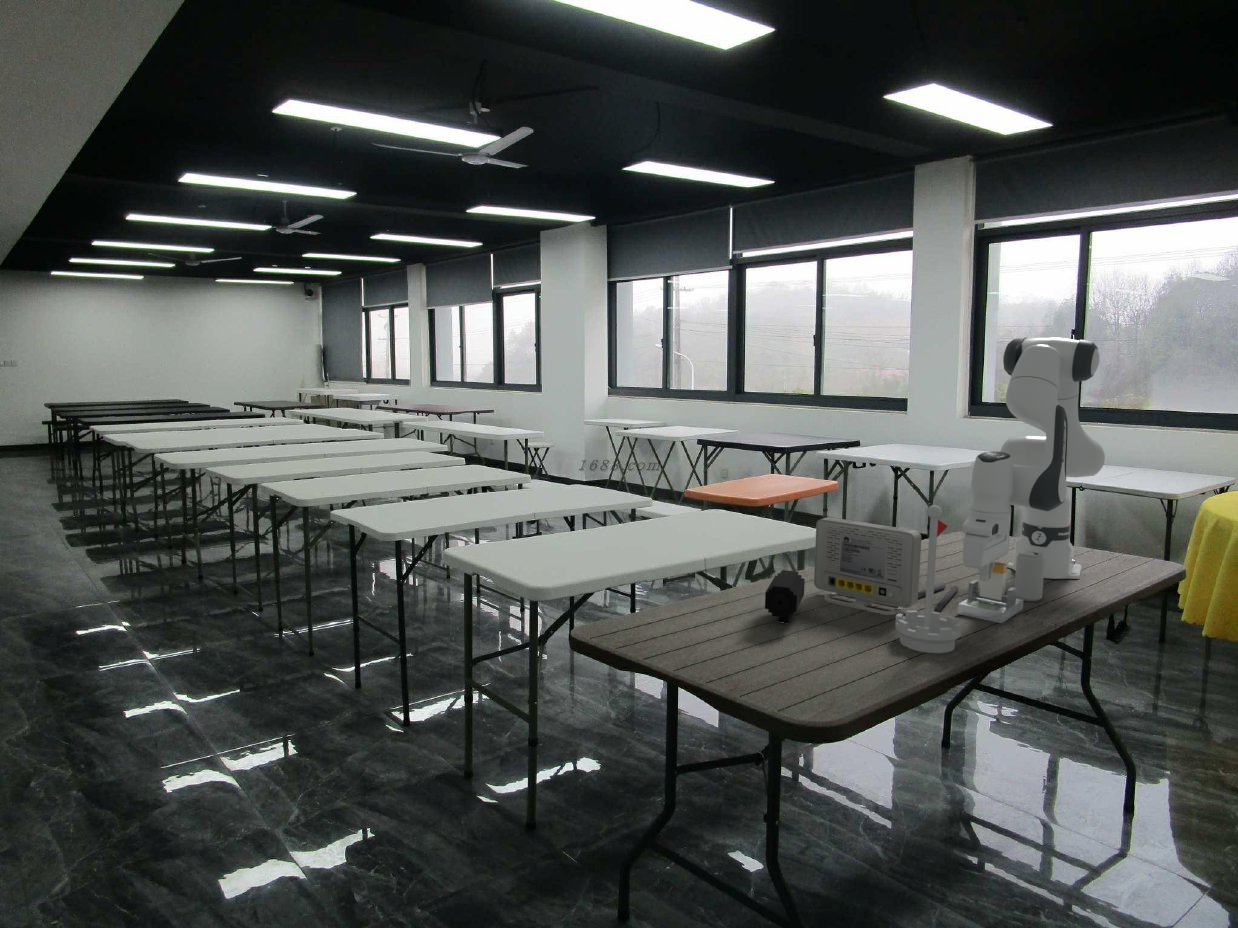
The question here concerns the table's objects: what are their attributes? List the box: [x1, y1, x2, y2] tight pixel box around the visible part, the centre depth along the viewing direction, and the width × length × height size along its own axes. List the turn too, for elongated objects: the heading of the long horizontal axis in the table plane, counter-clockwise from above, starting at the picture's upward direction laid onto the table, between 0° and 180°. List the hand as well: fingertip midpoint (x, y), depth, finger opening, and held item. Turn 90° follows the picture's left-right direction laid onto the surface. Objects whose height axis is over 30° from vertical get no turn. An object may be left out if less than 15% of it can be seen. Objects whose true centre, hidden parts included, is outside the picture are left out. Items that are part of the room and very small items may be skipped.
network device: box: [813, 516, 922, 616], centre depth 200 cm, size 26×9×20 cm, turn 47°
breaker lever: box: [975, 561, 1008, 603], centre depth 195 cm, size 2×7×9 cm, turn 47°
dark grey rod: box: [933, 585, 959, 613], centre depth 204 cm, size 23×1×1 cm, turn 147°
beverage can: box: [1014, 550, 1045, 602], centre depth 207 cm, size 6×6×12 cm
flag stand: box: [894, 504, 962, 654], centre depth 172 cm, size 13×13×30 cm
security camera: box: [764, 569, 806, 624], centre depth 189 cm, size 7×18×10 cm, turn 161°
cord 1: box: [918, 582, 946, 599], centre depth 210 cm, size 19×1×1 cm, turn 132°
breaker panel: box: [957, 579, 1025, 624], centre depth 196 cm, size 15×10×6 cm, turn 137°
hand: (985, 579), depth 192 cm, fingers closed
